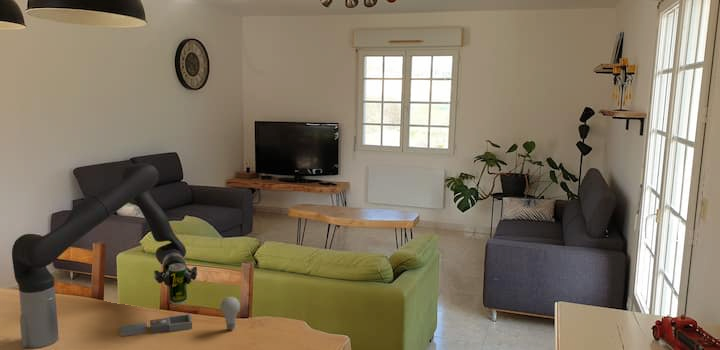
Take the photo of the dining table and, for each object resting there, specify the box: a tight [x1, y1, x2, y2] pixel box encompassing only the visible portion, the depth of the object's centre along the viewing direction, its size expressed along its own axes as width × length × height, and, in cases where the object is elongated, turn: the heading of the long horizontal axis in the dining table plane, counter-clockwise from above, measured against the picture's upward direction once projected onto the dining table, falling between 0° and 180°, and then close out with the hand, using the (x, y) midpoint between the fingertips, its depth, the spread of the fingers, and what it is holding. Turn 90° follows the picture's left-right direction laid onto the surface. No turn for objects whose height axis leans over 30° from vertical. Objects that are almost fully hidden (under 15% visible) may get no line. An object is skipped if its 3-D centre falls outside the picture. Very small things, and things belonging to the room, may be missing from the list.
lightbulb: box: [220, 296, 241, 331], centre depth 177 cm, size 6×6×11 cm
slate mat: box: [120, 322, 148, 338], centre depth 177 cm, size 8×8×1 cm
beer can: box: [168, 263, 188, 305], centre depth 178 cm, size 5×5×12 cm
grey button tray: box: [149, 313, 193, 334], centre depth 179 cm, size 12×7×3 cm, turn 113°
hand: (178, 282), depth 175 cm, fingers closed on beer can, 5 cm apart
